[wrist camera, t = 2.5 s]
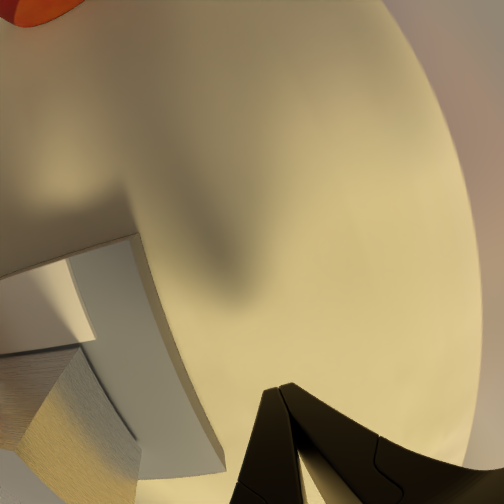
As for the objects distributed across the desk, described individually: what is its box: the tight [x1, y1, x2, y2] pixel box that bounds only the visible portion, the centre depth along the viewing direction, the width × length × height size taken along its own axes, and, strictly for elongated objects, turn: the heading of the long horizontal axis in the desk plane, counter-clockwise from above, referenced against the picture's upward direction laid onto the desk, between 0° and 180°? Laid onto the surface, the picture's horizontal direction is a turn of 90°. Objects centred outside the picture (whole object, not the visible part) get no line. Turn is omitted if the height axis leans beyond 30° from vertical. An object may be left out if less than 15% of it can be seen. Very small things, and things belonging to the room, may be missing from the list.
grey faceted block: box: [0, 347, 142, 504], centre depth 5 cm, size 7×5×4 cm, turn 12°
